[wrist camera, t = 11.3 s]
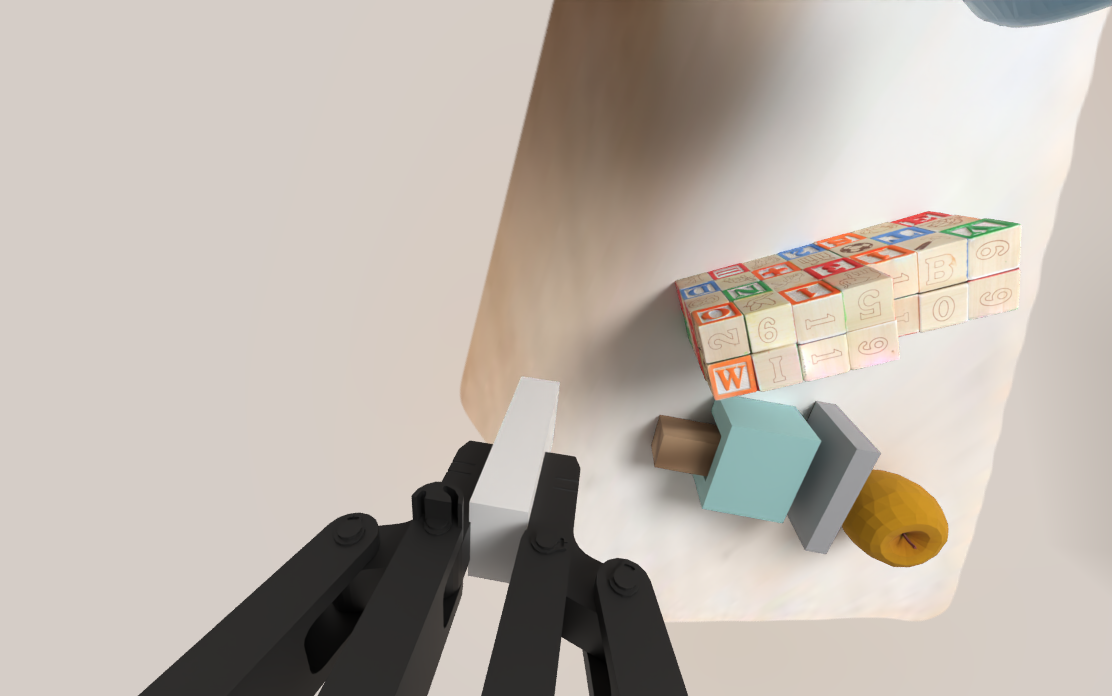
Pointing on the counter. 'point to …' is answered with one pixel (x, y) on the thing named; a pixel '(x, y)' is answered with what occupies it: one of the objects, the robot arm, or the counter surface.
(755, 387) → the stack of blocks
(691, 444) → the brown wooden bar
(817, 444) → the block
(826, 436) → the wall
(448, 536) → the robot arm
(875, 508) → the apple
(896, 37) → the counter surface
